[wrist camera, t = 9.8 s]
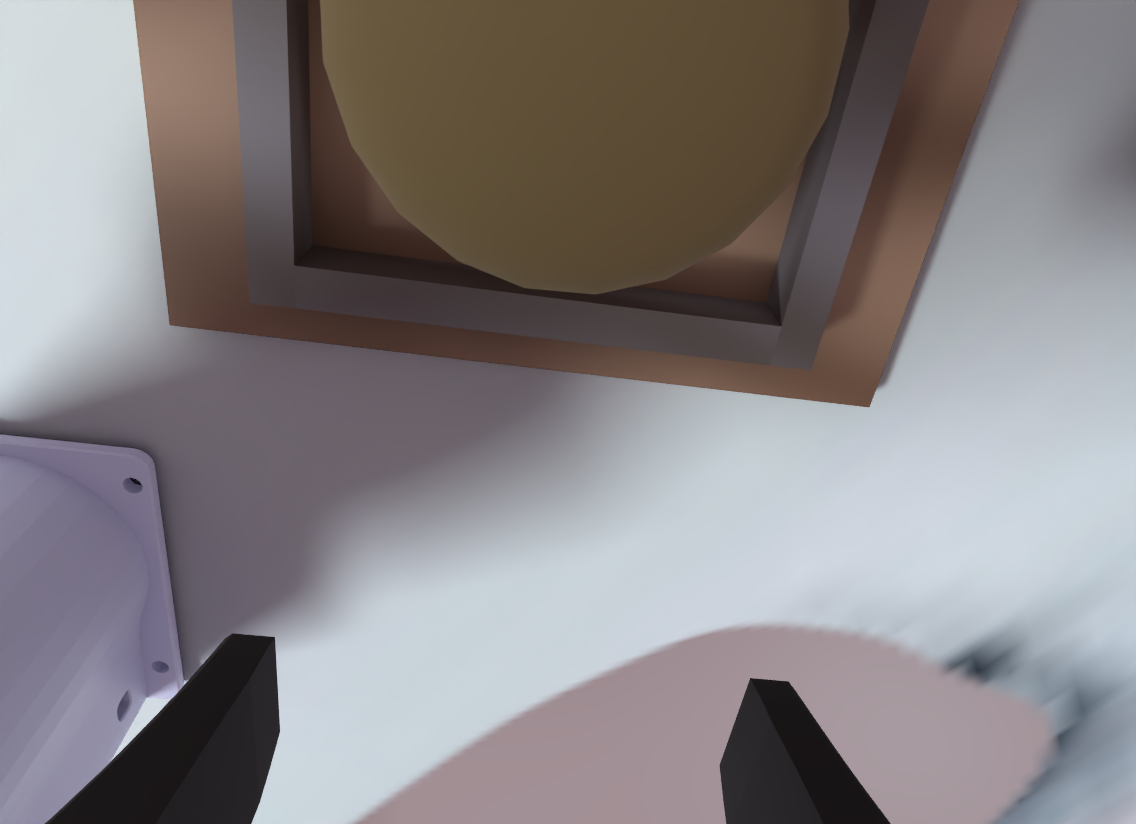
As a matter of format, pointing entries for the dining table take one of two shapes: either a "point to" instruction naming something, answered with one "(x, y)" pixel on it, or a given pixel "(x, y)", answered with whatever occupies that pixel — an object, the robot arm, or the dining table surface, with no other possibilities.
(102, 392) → the dining table surface
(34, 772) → the robot arm
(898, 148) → the framed serving tray
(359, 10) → the cork
